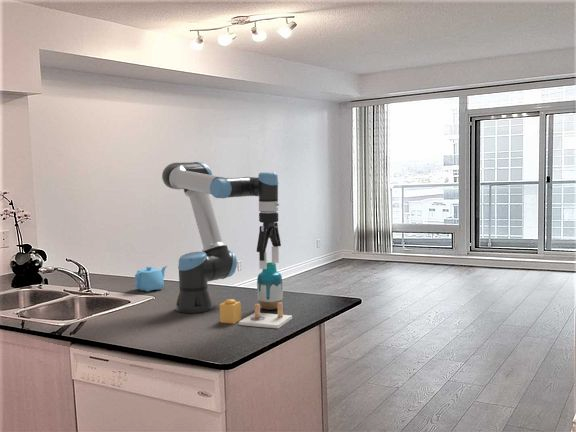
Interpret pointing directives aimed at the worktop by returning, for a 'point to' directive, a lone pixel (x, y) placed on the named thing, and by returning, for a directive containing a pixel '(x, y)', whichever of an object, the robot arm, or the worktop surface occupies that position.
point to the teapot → (150, 279)
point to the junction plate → (266, 318)
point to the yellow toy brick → (230, 311)
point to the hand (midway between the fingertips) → (269, 265)
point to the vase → (269, 287)
